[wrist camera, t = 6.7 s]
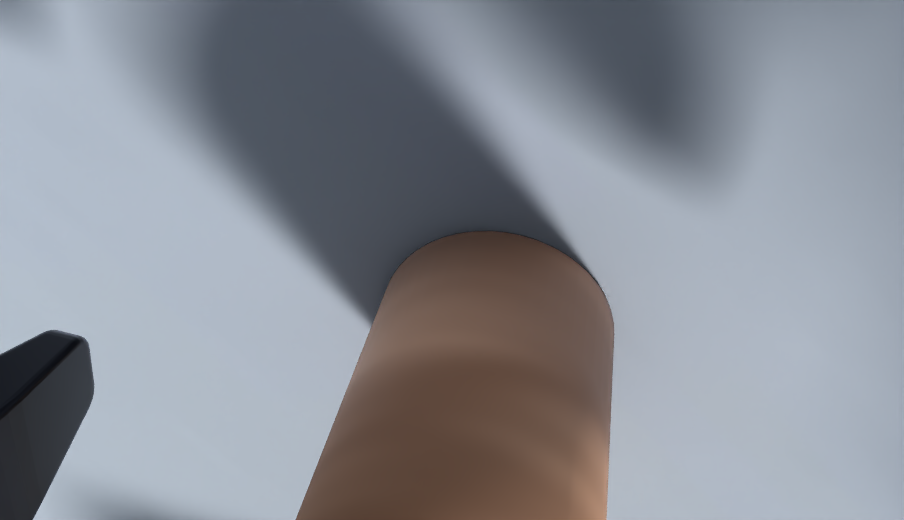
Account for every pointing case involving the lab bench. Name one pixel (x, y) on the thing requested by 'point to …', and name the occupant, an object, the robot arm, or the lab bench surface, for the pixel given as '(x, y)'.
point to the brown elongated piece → (476, 392)
